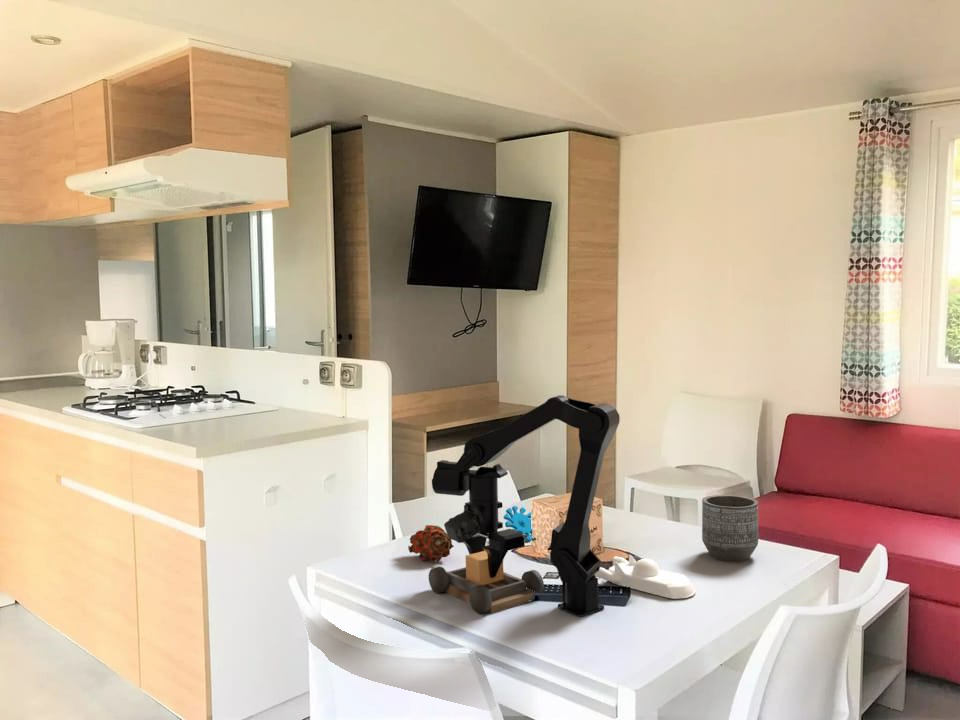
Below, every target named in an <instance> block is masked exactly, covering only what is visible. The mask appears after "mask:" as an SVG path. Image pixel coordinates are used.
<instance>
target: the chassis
mask: <svg viewBox="0 0 960 720" xmlns="http://www.w3.org/2000/svg"><path fill="white" fill-rule="evenodd" d="M503 578H504V579H502V580H499V581H495V582H492V583H488V584H485V585H478V584H476V583H473V582H471V581H469V580H467V579H466V566H465V567H461V568H458V569H454V570H450V571H446V569H445V568H444V567H443V566H436V567H432V568H430V570H429V572H428V582H429V586H430V589H431V590H432V591H433V592H434V593H436V594H440V593H444V592H445V593H447V594H449V595H451V596H453V597H455V598H458V599H460V600H462V601H464V602H466V603H468V604H470V606H471V608H472V609H473V611H474V612H475V613H477V614H483V613H486V612H487V613H490V614H495V613H497V612H502V611H505V610H507V609H510V608H511V609H512V608H513V607H517V606H520V605H524V604H526V602H527V603H529V602H528V601H529V600H530V598H531V597H532V595H533V594H534V593H535V592H540V591H542V590H543V591H544V590H545V582H544V579H543V577H542V575H541V573H540V572H539V571H538V570H535V569H530V570H528V571H525V572H523V574H522V575H521V578H519V577H517V576H514V575H512V574H510V573H507V572H504V571H503ZM526 587H527V588H529V589H531V590H533V591H531V590H530V591H529V590H526ZM534 591H535V592H534Z"/></svg>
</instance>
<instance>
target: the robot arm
mask: <svg viewBox="0 0 960 720" xmlns="http://www.w3.org/2000/svg"><path fill="white" fill-rule="evenodd" d="M620 418H621V417H620V413H618V410H617V408H616V407H615V406H613V405H612V404H609V403H605V402H602V403H598V404H596V403H592V402H589V401H583V400H578V399H573V398H571V397H567V396H565V395H560V394H559V395H557V396H553V397H550V398H548V399H547V400H546V401H545V402H544V403H542V404H540V405H539V406H537V407H535V408H533V409H531V410H530V411H528V412H526V413H524V414H523V415H521V416H519V417H518V418H516V419H515V420H512V421H511V422H509V423H507V424H505V425H503V427H500V428H498V429H494V430H492V431H488V432H486V433H483V434H480V435H477V436H475V437H471V438H469V439H467V441H466V442H465V443H464V447H463V453H462V454H461V456H460V458H459V459H458V460H457V461H449V460H445V459H442V460H438V461H437V462H436V468H435V470H434V472H433V476H432V478H431V487H432V491H433V492H434V493H435V494H437V495H448V496H460V497H462V496H465V494H467V492H468V496H469V499H468V502H465V503H464V504H463V512H460V513H459V514H457V515H455V516H453V517H451V518H449V519H448V520H447V521H446V522H445V523H444V524H443V525H444V526H443V527H444V528H445V532H446V533H447V535H448V538H449V539H450V540H451V541H454V542H456V543H458V544H461V543H462V544H463V545H464V546H465V547H466V549H467V551H468V555H470V554H474V553H478V552H482V551H486V552H487V556H488V567H489V574H490V578H494V577H495V576H496V574H497V572H498V570H499V568H500V566H501V563H502V561H503V562H504V560H505V557H506V555H507V553H508V552H509V551H512V550H516V549H519V548H524V547H525V545H526V543H525V542H526V538H525V534H524V535H523V534H522V533H521V532H519V531H516V530H512V529H513V528H507V529H503V527H504V523H503V522H501V521H499V509H502V508H503V502H502V501H499V493H498V492H499V491H498V490H499V489H498V488H499V487H498V485H499V484H498V483H499V482H498V479H502V478H504V477H505V476H508V471H507V470H506V469H505V468H503V467H502V466H501V464H500V463H497V464H495V465H493V466H492V467H491V466H485V465H487V464H490V463H492V462H494V461H496V460H497V459H499V458H500V457H501V456H503V454H505V453H506V452H507V451H508V450H509V448H511V447H512V446H513V445H514V444H515V443H517V441H520V440H521V439H524V438H526V437H527V436H528V435H530V434H532V433H534V432H536V431H537V430H539V429H541V428H543V427H544V426H546V425H548V424H549V423H551V422H553V421H555V420H558V421H560V422H562V423H564V424H567V425H568V426H570V427H573V428H575V429H578V441H579V447H580V448H579V449H580V453H579V457H578V462H577V466H576V471H575V476H574V480H573V486H572V489H571V493H570V494H571V495H570V497H569V498H570V499H569V503H568V507H567V512H566V517H565V521H563V522H562V523H560V524H559V525H557V526H556V527H555V528H553V529H552V531H551V537H550V538H551V541H550V544H549V547H547V551H550V552H549V558H550V559H549V561H550V562H551V563H552V564H553V566H554V568H556V569H557V573H558V576H559V578H560V581H561V583H562V591H561V592H562V593H561V594H562V602H561V603H558V604H557V608H558V609H561V610H563V611H566V612H567V613H570V614H573V615H575V616H577V617H584V616H586V615H590V614H593V613H595V612H598V611H601V610H604V609H605V605H603V604H600V603H599V578H596V576H595V575H594V574H595V573H596V572H598V571H599V569H600V567H601V565H602V563H603V562H602V559H600V558H599V557H598V556H597V555H596V554H595V553H594V552H593V550H592V549H591V531H590V526H589V525H590V524H589V523H590V517H591V513H592V509H593V505H594V500H595V496H596V491H597V488H598V482H599V479H600V474H601V469H602V465H603V461H604V457H605V452H606V451H607V449H608V447H609V446H610V444H611V442H612V441H613V439H614V437H615V434H616V432H617V430H618V427H619V425H620V422H621V421H620V420H621V419H620ZM474 467H478V468H477V469H472V468H474ZM499 529H500V530H499ZM501 529H503V530H501ZM498 530H499V531H498ZM487 539H488V544H487ZM486 544H487V545H486Z"/></svg>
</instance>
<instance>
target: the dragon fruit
mask: <svg viewBox="0 0 960 720" xmlns="http://www.w3.org/2000/svg"><path fill="white" fill-rule="evenodd" d="M452 541H453V540H450V539H449V538H448V535H447V532H446V530H444V528H442V527H441V526H439V525H432V524H426V525H425V526H424V529H421V530H418V531H416V532H415V533H414V534H412V535H411V536H410V538H409V543H410V544H411V545H408V546H407V547H408V552H409V553H414V554H416V555H417V554H419V559H420V560H421V561H422V562H425V561H424V560H426V561H428V560H430V561H431V562H441V560H442V558H447V557H448V556H449V555H451V549H452V548H454V547H455V546H454V545H453V542H452Z"/></svg>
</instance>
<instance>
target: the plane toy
mask: <svg viewBox="0 0 960 720" xmlns="http://www.w3.org/2000/svg"><path fill="white" fill-rule="evenodd" d="M659 567H660V566H658V564H657V563H656V562H655V561H654V560H653V559H650V558H642V559H639V560H637V561H636V559H635V558H634V557H633V555H631V554H628V560H627V559H625V558H624V557H620V556H615V555H614V556H613V558H612V566H610V567H608V570H607V569H606V568H604V567H601V566H600V569H599V571H598V572H596V573H595V574H594V575H595V576H596V577H599V578H598V579H601V578H602V580H605V581H606V582H607V581H610V582H612V584H615V585H618V586H622V587H625V586H628V587H630V588H629V589H633V590H637V591H641V592H643V593H648V594H651V595H656V596H660V597H662V598H668V599H673V600H674V599H677V600H678V599H687V598H688V599H689V598H690V597H692V596H694V595H696V592H697V591H696V590H695V587H694V586H693V584H692V583H691V581H690V580H689V579H688V578H687V577H686V576H685V574H681V573H677V572H671V571H666V570H663V569H660V568H659ZM610 582H609V583H610ZM628 587H627V588H628Z"/></svg>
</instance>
